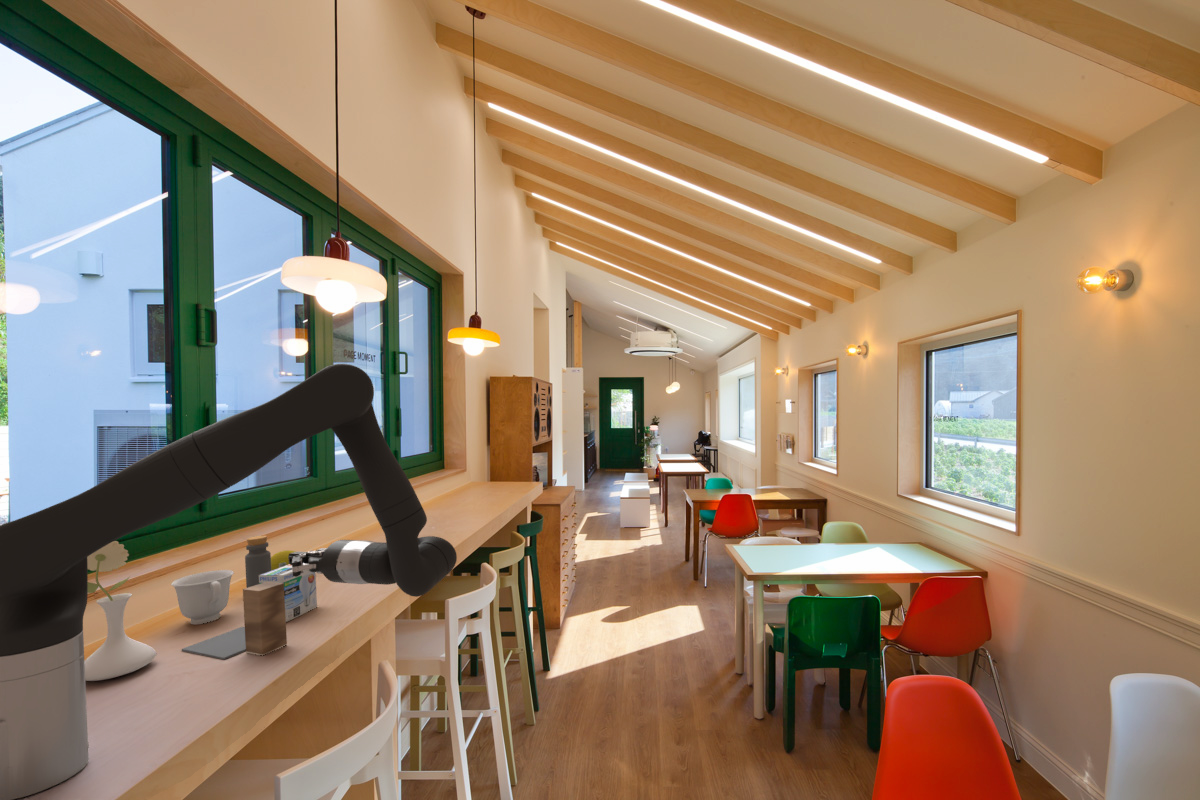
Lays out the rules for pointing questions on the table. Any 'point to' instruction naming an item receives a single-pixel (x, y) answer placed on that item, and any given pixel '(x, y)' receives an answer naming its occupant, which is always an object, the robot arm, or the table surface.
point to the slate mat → (221, 645)
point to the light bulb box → (294, 590)
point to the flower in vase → (114, 623)
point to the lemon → (280, 559)
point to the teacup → (203, 595)
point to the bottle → (256, 559)
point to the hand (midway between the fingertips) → (292, 558)
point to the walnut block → (264, 618)
